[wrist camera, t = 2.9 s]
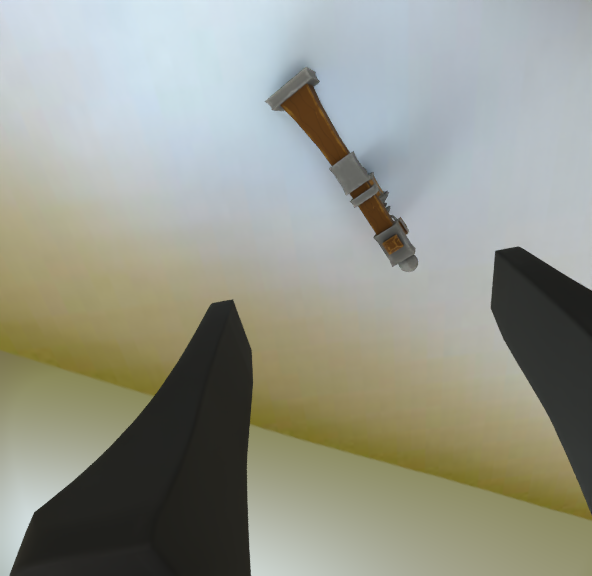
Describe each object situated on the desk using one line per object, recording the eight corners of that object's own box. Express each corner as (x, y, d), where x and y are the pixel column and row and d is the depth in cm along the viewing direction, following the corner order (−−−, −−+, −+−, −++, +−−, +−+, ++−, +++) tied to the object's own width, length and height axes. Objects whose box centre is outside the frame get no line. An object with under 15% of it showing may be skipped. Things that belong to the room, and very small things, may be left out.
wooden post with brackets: (394, 257, 22) (392, 289, 17) (291, 105, 20) (262, 101, 16) (429, 235, 21) (436, 263, 17) (325, 77, 20) (304, 65, 16)
